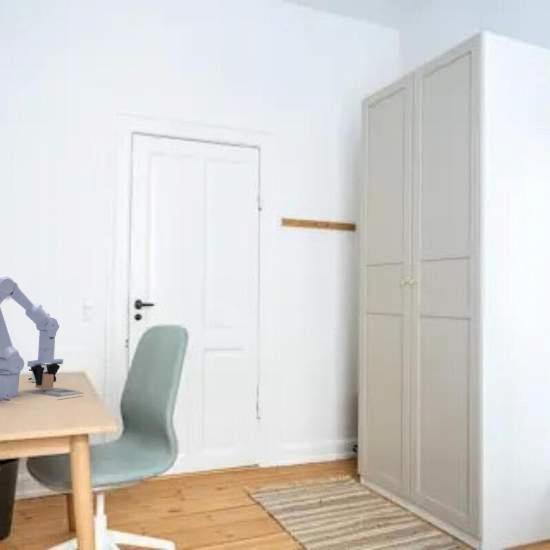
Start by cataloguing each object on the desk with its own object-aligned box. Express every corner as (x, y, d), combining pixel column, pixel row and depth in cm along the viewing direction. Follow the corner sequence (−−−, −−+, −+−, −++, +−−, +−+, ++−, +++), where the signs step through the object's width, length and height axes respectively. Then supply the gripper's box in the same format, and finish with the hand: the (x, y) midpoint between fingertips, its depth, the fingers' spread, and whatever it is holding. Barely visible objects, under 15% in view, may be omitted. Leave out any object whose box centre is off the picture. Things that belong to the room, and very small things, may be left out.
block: (53, 387, 217) (53, 374, 217) (43, 388, 213) (43, 375, 214) (45, 386, 219) (46, 373, 220) (35, 387, 216) (36, 374, 216)
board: (84, 396, 214) (84, 392, 214) (57, 400, 203) (57, 396, 203) (49, 390, 224) (49, 387, 224) (22, 394, 213) (22, 390, 214)
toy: (36, 363, 251) (59, 357, 245) (35, 389, 248) (58, 384, 241) (24, 362, 246) (47, 355, 239) (23, 389, 243) (46, 383, 236)
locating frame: (79, 393, 212) (80, 391, 212) (61, 396, 205) (61, 393, 205) (64, 390, 217) (65, 388, 217) (45, 393, 209) (45, 391, 209)
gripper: (55, 347, 225) (53, 381, 225) (23, 348, 213) (21, 385, 212) (67, 348, 222) (65, 383, 221) (35, 350, 209) (32, 387, 209)
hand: (44, 384), depth 216 cm, fingers closed on block, 4 cm apart
